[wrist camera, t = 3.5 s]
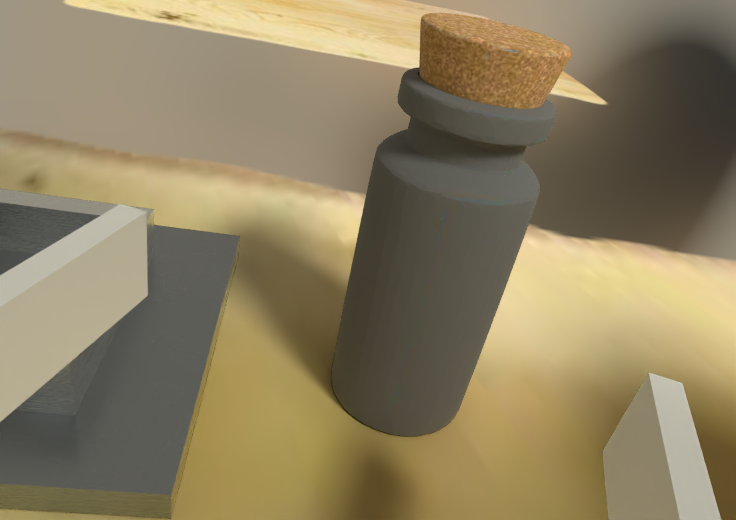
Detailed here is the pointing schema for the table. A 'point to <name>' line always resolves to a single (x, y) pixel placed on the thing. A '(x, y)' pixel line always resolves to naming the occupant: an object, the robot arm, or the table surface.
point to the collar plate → (116, 373)
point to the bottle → (443, 221)
